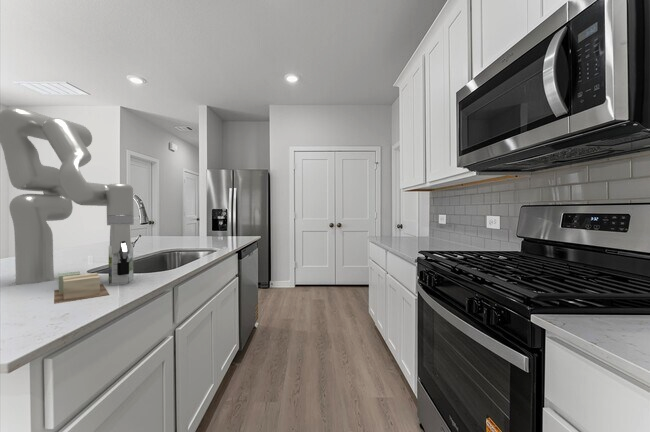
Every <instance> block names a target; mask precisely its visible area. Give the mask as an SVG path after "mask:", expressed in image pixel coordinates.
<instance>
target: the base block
mask: <svg viewBox="0 0 650 432" xmlns="http://www.w3.org/2000/svg"><path fill="white" fill-rule="evenodd" d="M100 284H101V277H100V275H99V274H98V272H93V273H84V274H80V275H73V276H65V277H63V296H64V300H65V299H71V298H78V297H84V296H91V295H98V294H100Z"/></svg>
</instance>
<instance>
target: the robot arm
mask: <svg viewBox="0 0 650 432" xmlns="http://www.w3.org/2000/svg"><path fill="white" fill-rule="evenodd" d="M28 137H30V138H31V137H32V138H36V139H40V140H44V141H48V143H49V145H50V146H51V148H52V150H54V152H55V154H56V156H57V157H58V159H59V161H60V163H61V165H60V167H59V168H58V167H53V166H49V165H44V164H42V161H41V160H40V156H39V151H38V149H37V148H36V146H35V144H34V143H33V142H32V141H31V140H30V139H29V138H28ZM92 142H93V135H92V132H91V131H90V130H89V129H88V127H86V126H84V125H82V124H80V123H77V122H73V121H70V120H67V119H62V118H59V117H57V118H56V117H51V116H47V115H43V114H41V113H38V112H34V111H32V110H28V109H24V108H19V107H7V108H5V109H3V110H2V111H0V145H1V148H2V151H3V154H4V160H5V164H6V168H7V174H8V177H9V182H10V183H11V185H12V187H13V188H15V189H17V190H20V191H29V192H43V193H23V194H22V193H21V194H18V195H16V196H15V197H14V198H12V199H11V201H10V203H9V206H8V207H9V213H10V216H11V219H12V224H13V230H14V231H13V232H14V234H13V235H14V256H15V257H14V259H15V260H14V261H15V262H14V263H15V281H14V282H12V283H10V284H9V285H8V287H11V286H21V285H31V284H39V283H40V284H41V283H45V282H53V281H58V277H55V275H54V274H55V273H54V272H55V271H54V237H53V230H52V228H51V226H50V225H49V223H48V222H50V221H51V222H53V221H64V220H66V219H68V218H69V217H70V216H71V215H72V213H73V208H74V206H73V203H75V204H77V205H79V206H91V207H93V206H98V207H106V225H107V226H109V227H110V228H109V246H110V245H112V255H115V254H118V263H117V274H118V275H126V274H129V259H128V254H129V253H130V250H131V244H132V243H131V239H132V237H131V225H134V224H135V223H134V221H135V218H134V216H135V215H134V214H135V213H134V187H133V186H132V185H131V184H127V183H109V184H105V183H97V182H96V183H95V182H89V181H88V182H87V181H86V179H85V177H84V176H83V174H82V172H81V171H80V168H81V167H83V166H86V165H88V164H89V163H90V162H91V160H92V154H91V153H90V151H89V149H88V147H90V145H92ZM47 221H48V222H47ZM127 250H129V252H128V251H127ZM121 252H122V253H121ZM120 258H121V259H120Z"/></svg>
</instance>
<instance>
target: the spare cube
mask: <svg viewBox="0 0 650 432" xmlns="http://www.w3.org/2000/svg"><path fill="white" fill-rule="evenodd" d="M57 274H58V275H57V276H58V277H57V278H58V280H57V281H58V290H59V293H63V277H65V276H73V275H81V273H80V271H70V272H61V273H57Z"/></svg>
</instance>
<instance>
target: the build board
mask: <svg viewBox="0 0 650 432" xmlns="http://www.w3.org/2000/svg"><path fill="white" fill-rule="evenodd" d="M53 293H54V294H53V305H54V304H55V305H56V304H61V303H68V302H75V301H79V300H80V301H82V300H87V299H93V298H99V297H101V298H102V297H106V296H107V297H108V296H110V293H109V291H108V290H107V289H106V287H105V285H104V284H103V283H100V294H98V295H91V296H84V297H78V298H71V299H65V300H64V296H63V293H59V289H54V291H53Z"/></svg>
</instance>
